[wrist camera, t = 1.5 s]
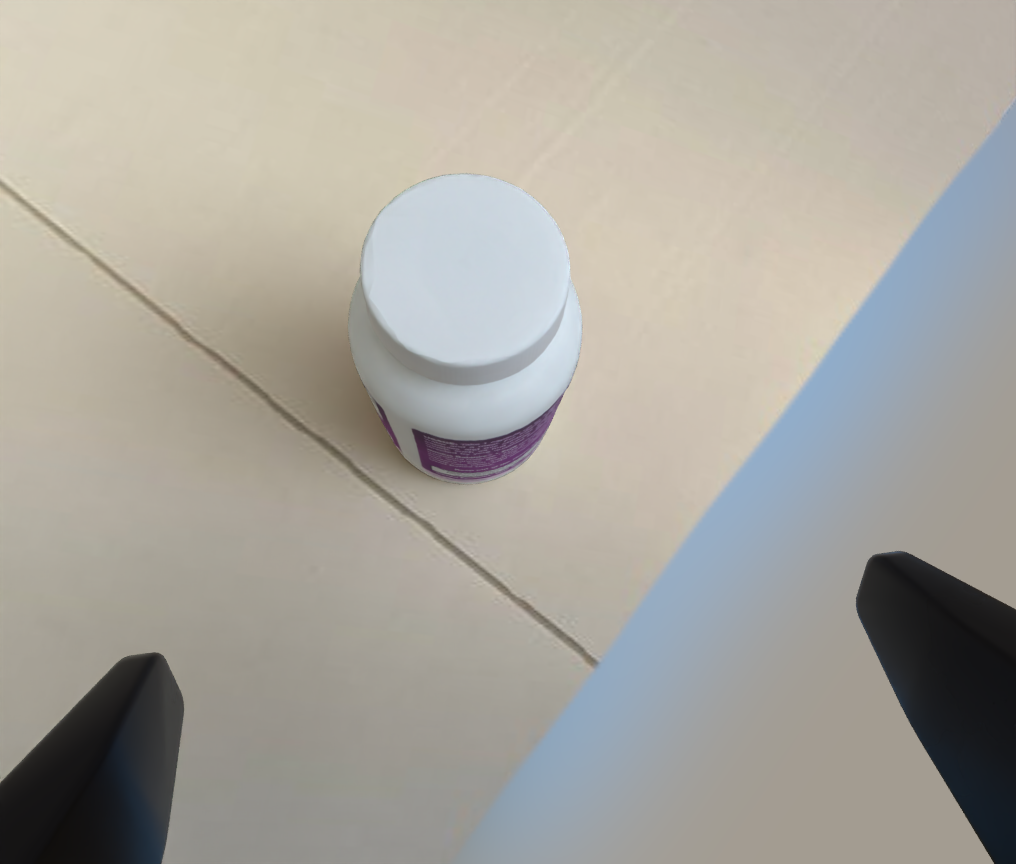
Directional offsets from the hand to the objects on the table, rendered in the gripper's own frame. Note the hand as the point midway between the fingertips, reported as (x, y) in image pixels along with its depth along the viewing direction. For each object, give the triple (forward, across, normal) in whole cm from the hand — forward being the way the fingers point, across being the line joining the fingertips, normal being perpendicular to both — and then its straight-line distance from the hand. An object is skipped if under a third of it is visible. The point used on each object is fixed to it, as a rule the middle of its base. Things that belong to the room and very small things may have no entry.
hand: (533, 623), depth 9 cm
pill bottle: (+13, 0, +4) cm, 14 cm away
